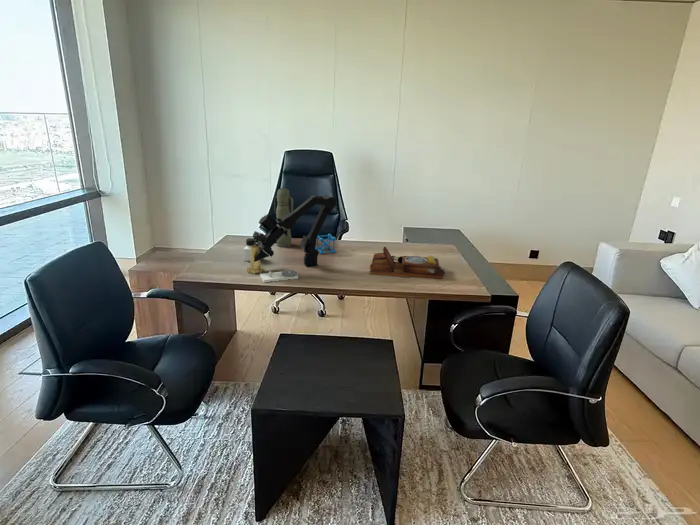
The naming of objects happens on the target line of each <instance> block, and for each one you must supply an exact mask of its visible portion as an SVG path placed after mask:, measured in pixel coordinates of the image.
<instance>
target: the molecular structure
mask: <svg viewBox="0 0 700 525" xmlns="http://www.w3.org/2000/svg"><path fill="white" fill-rule="evenodd" d="M323 237H327V238H323ZM336 240H337V237H336V236H332V234H331V233H328V234H326V235H323V234H322V235H319V234H318V236H317V239H316V246H315V249H316V250H317V251H318V252H319V254H320V255H323V254H324V253H326V254H327V253H332V254H335V253H336V249H335V242H336ZM319 242H320V246H319ZM331 242H332V246H331ZM324 249H325V250H326V249H327V250H326V251H325V250H324Z"/></svg>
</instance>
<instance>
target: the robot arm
mask: <svg viewBox="0 0 700 525" xmlns="http://www.w3.org/2000/svg"><path fill="white" fill-rule="evenodd" d="M316 205H319V212H318V214H317V216H316V218H315V220H314V222H313V224H312V226H311V229H310V231H309V233H308V234H307V235H306V236H305V235H303V236H302V239H301V241H300V248H301V249H302V250H303V252H304V256H303V265H304V266H305V267H306V268H310V267H311V268H312V267H319V264H318V256H319V254H320V253H319V252H320V251H317V250H316V249H315V248H316V247H317V236H318V235H319V234H320V232H321V230H322V229H323V228H322V227H323V225H324V223H325V221H326V220H327V218H328V215H329V214H330V213H331V212H333V210H334V208H335V207H336V205H337V199H336V198H335V197H333V196H331V195H328V194H327V195H323V196H321V195H311V196H310V197H308V199H306V200H305V201H303V203H301V204H300V205H299V206H297V207H296V208H295V209H293V212H291V213H288V214H286V215H284V216H282V217H281V218H279V219H277V218H273V216H272V215H271V214H270V213H266V214H265V215H264V216H262V217H261V218H260V219H259V222H258V224H259V225H261V226H262V228H264V229H265V230H266V231H269V232H267V233H265V234H264V233H261V232H260V231H259V232H258V231H254V232H253V234H252V236H251V238H254V239H255V240H254V241H255V242H254V243H255V245H256V246H259V253H258V255H257V256H256V257H255V259H254V261H255V262H256V261H258V260H260V261H261V260H263V259H266V258H269V257H271V258H272V257H273V256H274V254H275V253H274V250H273V249H272V247H273V246H274V245H275V244H277V240H278V239H279V238H280V237H281V236H282V235H283V234H285V235H286V236H288V234H287V230H284V229H283V228H282V227H284V228H286V229H290V230H291V229H292V228H293V226H294V225H296V223H297V221H298V220H299V219H300V218H301V217H302V216H303V215H304V214H306V213H307V212H308V211H309V210H310V209H312V208H313V207H314V206H316ZM277 224H278V225H279V226H280V227H278V226H277Z"/></svg>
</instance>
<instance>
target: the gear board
mask: <svg viewBox="0 0 700 525" xmlns="http://www.w3.org/2000/svg"><path fill="white" fill-rule="evenodd" d="M297 273H298V272H297V271H295V270H294V269H291V270H290V269H286V270H282V271H276V272H272V271H268V272H265V273H263V272H262V273H259V277H260V278H262V279H261V280H262V281H263V282H262V283H269V282H271V281H272V282H278V281H279V280H281V281H289V280H288V279H291V280H297V279H299V275H297ZM279 282H280V281H279Z"/></svg>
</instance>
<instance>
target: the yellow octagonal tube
mask: <svg viewBox="0 0 700 525" xmlns="http://www.w3.org/2000/svg"><path fill="white" fill-rule="evenodd" d="M258 253H259V246H256V245H255V246H251V253H250V261H249V262H250V264H249V266H248V267H247V268H246V271H247V274H252V275H255V274H262V273H263V272H262V271H264V272H265V267H264V266H263V265H262V264H261V262H262V261H261V260H258V261H256V262H255V261H254V259H255V257H256V256H257V255H258Z"/></svg>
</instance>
